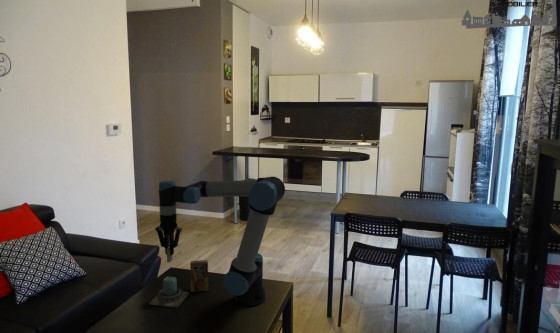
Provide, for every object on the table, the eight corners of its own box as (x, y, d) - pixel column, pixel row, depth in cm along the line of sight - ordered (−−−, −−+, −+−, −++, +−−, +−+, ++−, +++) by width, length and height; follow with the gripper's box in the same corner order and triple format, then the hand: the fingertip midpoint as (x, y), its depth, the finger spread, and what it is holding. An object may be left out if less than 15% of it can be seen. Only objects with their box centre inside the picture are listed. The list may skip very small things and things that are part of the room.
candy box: (208, 287, 197) (207, 259, 195) (208, 291, 193) (208, 262, 191) (190, 288, 196) (190, 260, 193) (190, 292, 191) (190, 263, 189)
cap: (179, 294, 187) (178, 276, 185) (173, 301, 180) (172, 282, 179) (167, 293, 188) (167, 274, 186) (161, 299, 182) (160, 280, 180)
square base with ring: (189, 294, 190) (189, 287, 189) (176, 308, 176) (176, 301, 176) (164, 290, 193) (163, 284, 192) (149, 304, 179) (149, 297, 178)
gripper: (184, 212, 180) (185, 259, 184) (159, 210, 183) (161, 256, 186) (177, 216, 173) (178, 265, 176) (151, 214, 176) (153, 262, 179)
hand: (169, 260), depth 181 cm, fingers closed
